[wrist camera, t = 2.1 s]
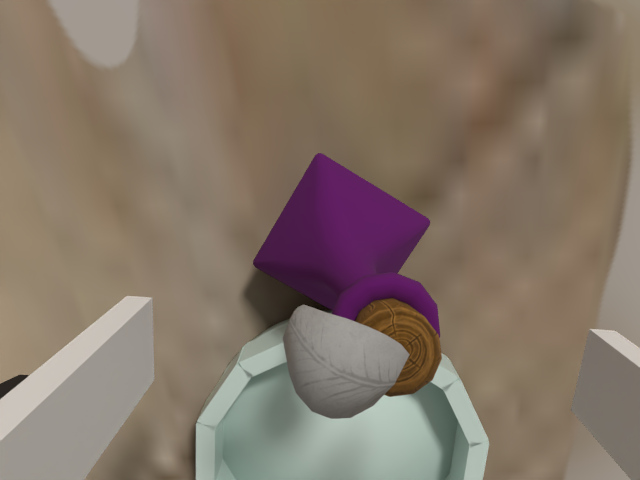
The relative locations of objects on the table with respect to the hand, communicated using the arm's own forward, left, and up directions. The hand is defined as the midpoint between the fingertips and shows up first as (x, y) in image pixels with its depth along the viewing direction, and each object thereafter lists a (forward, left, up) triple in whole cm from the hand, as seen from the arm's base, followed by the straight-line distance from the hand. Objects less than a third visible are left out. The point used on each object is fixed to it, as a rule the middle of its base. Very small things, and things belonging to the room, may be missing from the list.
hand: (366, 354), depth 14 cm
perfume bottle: (0, 0, -16) cm, 16 cm away
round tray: (+1, -14, -16) cm, 21 cm away
